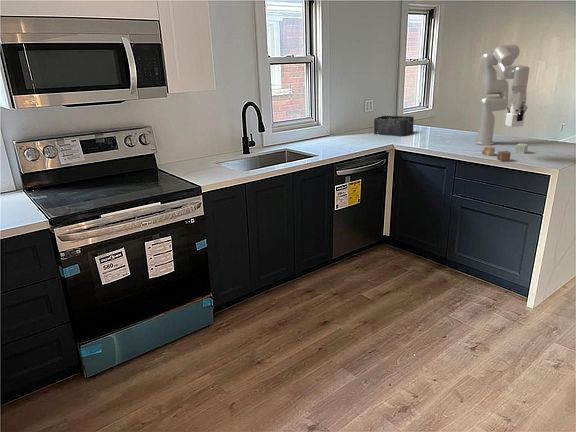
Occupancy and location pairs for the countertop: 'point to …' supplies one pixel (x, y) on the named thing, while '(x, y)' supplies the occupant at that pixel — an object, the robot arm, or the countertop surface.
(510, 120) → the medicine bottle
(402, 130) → the storage bin
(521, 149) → the sage cube
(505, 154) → the walnut cube
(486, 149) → the oak cube
